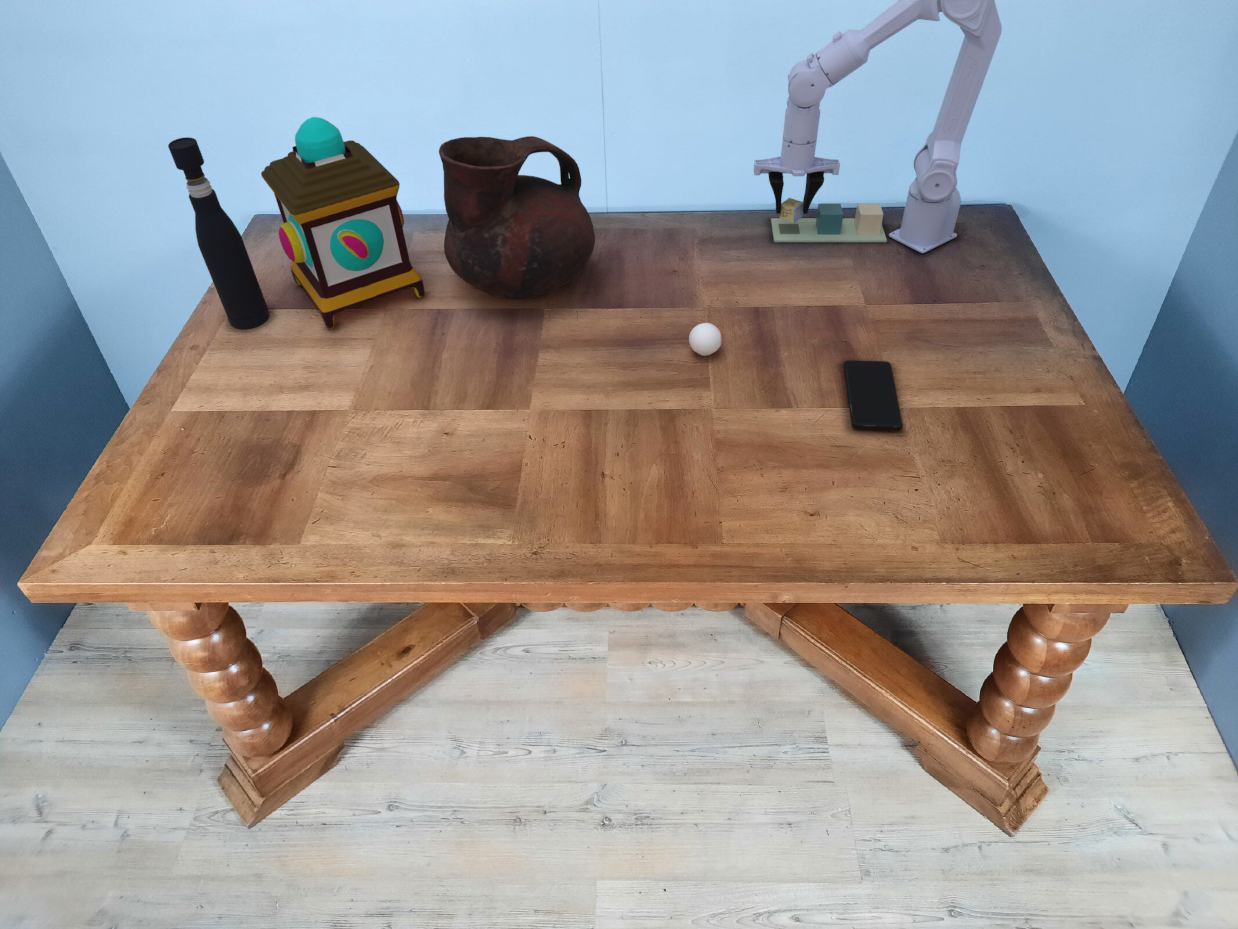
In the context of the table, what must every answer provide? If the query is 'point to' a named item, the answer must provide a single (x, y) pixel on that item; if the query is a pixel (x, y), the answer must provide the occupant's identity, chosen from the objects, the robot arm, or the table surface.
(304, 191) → the decorative lantern
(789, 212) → the alphabet block
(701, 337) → the white ping pong ball
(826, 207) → the teal cube
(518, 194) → the jug
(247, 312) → the wine bottle
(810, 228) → the word mat
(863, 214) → the beige cube block
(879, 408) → the smartphone
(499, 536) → the table surface
